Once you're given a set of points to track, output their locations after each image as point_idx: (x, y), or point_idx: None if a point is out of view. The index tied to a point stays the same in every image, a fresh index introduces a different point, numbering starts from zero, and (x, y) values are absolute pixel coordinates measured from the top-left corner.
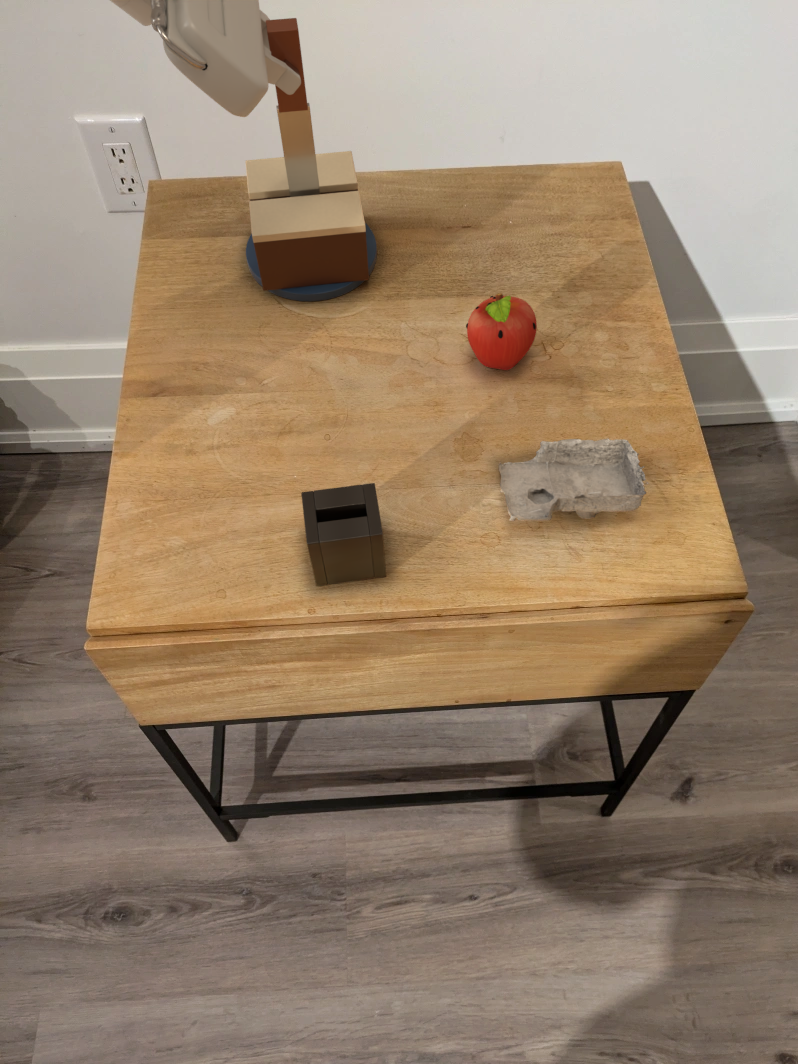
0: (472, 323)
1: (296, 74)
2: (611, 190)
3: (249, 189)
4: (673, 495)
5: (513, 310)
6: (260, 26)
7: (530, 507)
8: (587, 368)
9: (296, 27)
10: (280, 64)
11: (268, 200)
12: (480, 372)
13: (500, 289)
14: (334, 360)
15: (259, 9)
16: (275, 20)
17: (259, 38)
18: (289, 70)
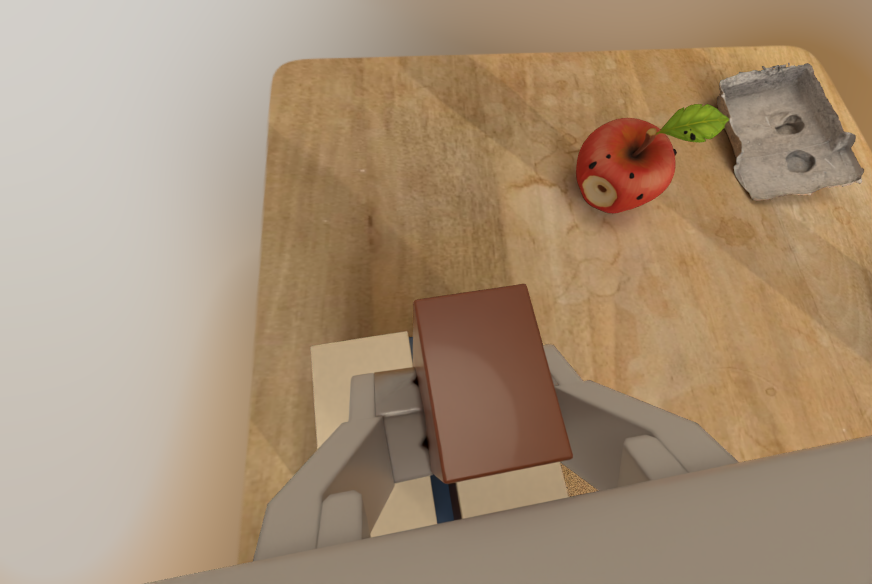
0: (660, 182)
1: (549, 354)
2: (309, 66)
3: None
4: (735, 70)
5: (644, 130)
6: (627, 496)
7: (826, 167)
8: (597, 116)
9: (507, 292)
10: (624, 397)
11: (465, 510)
12: (624, 215)
13: (486, 188)
14: (640, 390)
15: (383, 536)
16: (449, 416)
17: (824, 478)
18: (574, 373)
